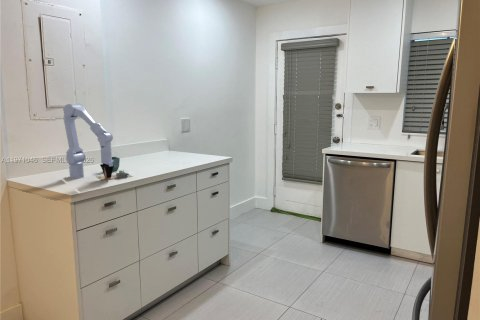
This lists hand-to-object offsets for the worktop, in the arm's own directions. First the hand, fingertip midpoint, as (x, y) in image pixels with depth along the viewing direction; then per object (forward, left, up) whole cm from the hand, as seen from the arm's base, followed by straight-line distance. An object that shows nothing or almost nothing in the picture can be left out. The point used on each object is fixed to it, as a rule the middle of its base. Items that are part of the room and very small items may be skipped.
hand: (107, 176), depth 210 cm
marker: (0, 0, -2) cm, 2 cm away
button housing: (0, +8, -2) cm, 9 cm away
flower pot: (-25, +10, -3) cm, 27 cm away
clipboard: (-5, +6, -2) cm, 8 cm away
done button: (0, +9, 0) cm, 9 cm away
